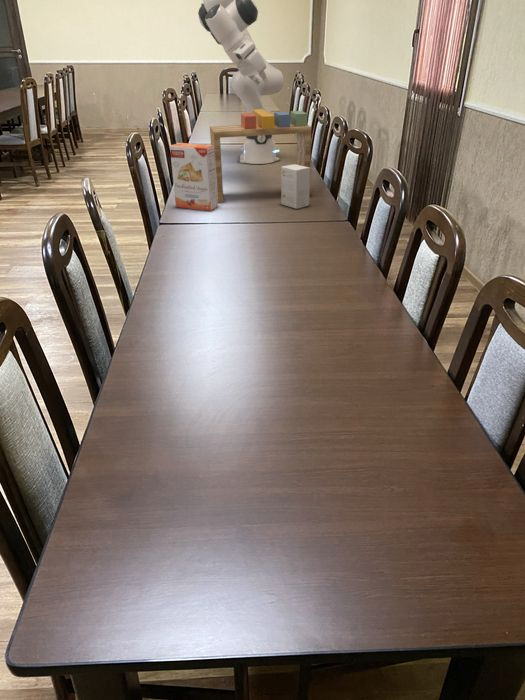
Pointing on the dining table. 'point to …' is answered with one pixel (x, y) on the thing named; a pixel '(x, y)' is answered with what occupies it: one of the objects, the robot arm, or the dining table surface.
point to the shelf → (239, 131)
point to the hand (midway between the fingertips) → (262, 83)
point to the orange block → (264, 118)
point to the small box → (295, 186)
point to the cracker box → (194, 176)
